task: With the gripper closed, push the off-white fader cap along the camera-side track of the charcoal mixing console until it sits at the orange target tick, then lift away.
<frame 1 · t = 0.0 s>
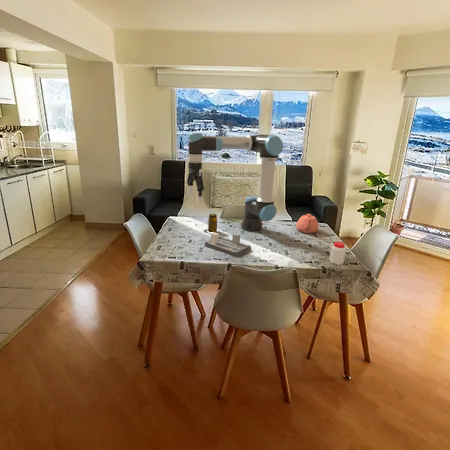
hand: (194, 199, 172), 28 cm above the table, fingers open, 13 cm apart
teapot: (306, 231, 213), on the table
condiment: (211, 231, 204), on the table
fader a: (214, 238, 177), point 5 cm above the table, slide at -7.0 cm
console: (227, 247, 178), on the table
pill bottle: (336, 262, 165), on the table
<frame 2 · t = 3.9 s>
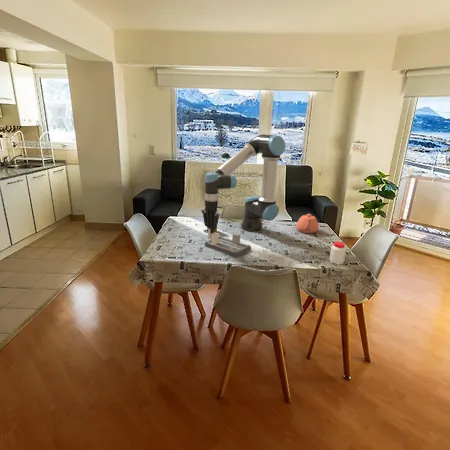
hand: (210, 238, 179), 4 cm above the table, fingers closed
fader a: (215, 238, 177), point 5 cm above the table, slide at -6.7 cm, touching gripper
everything else where it was.
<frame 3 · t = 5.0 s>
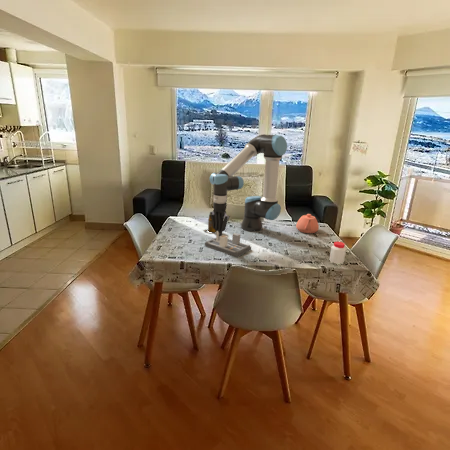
hand: (218, 240, 176), 4 cm above the table, fingers closed
fader a: (223, 241, 173), point 5 cm above the table, slide at -0.3 cm, touching gripper
everything else where it was.
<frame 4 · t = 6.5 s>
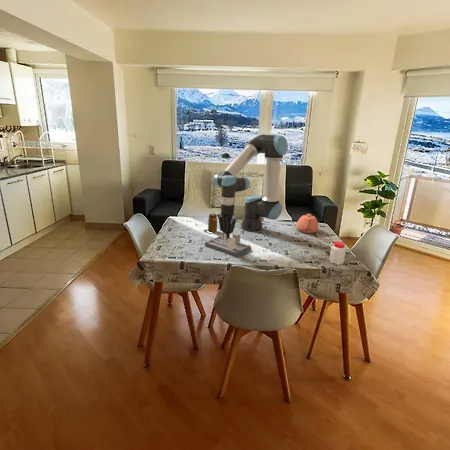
hand: (226, 243, 172), 4 cm above the table, fingers closed
fader a: (231, 243, 170), point 5 cm above the table, slide at 5.3 cm, touching gripper
everything else where it was.
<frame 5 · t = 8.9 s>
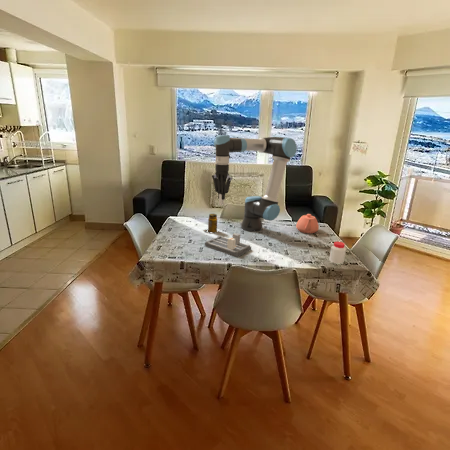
hand: (221, 204, 174), 25 cm above the table, fingers closed
fader a: (231, 243, 170), point 5 cm above the table, slide at 5.4 cm
everything else where it was.
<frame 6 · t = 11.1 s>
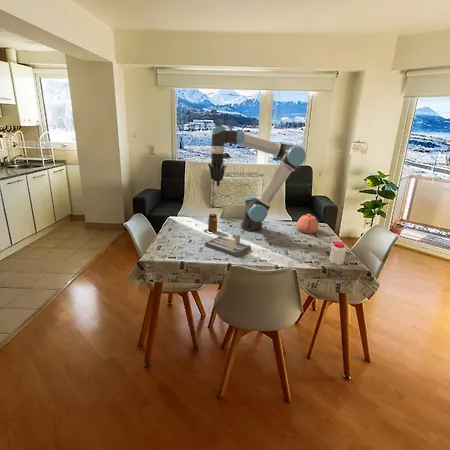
hand: (216, 190, 190), 29 cm above the table, fingers closed
nothing on the table moved.
at the end: fader a slide at 5.4 cm; the gripper is holding nothing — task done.
